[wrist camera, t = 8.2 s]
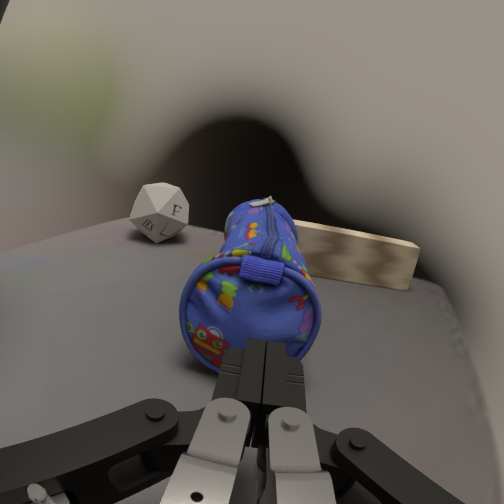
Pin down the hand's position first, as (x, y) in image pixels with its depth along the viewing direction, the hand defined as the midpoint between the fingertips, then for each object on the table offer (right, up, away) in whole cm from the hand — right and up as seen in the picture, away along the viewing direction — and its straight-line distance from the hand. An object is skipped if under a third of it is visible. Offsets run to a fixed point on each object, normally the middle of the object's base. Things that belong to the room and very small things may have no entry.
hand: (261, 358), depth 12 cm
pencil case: (-1, -1, +17) cm, 18 cm away
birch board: (+9, +1, +29) cm, 30 cm away
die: (-14, +6, +33) cm, 37 cm away
